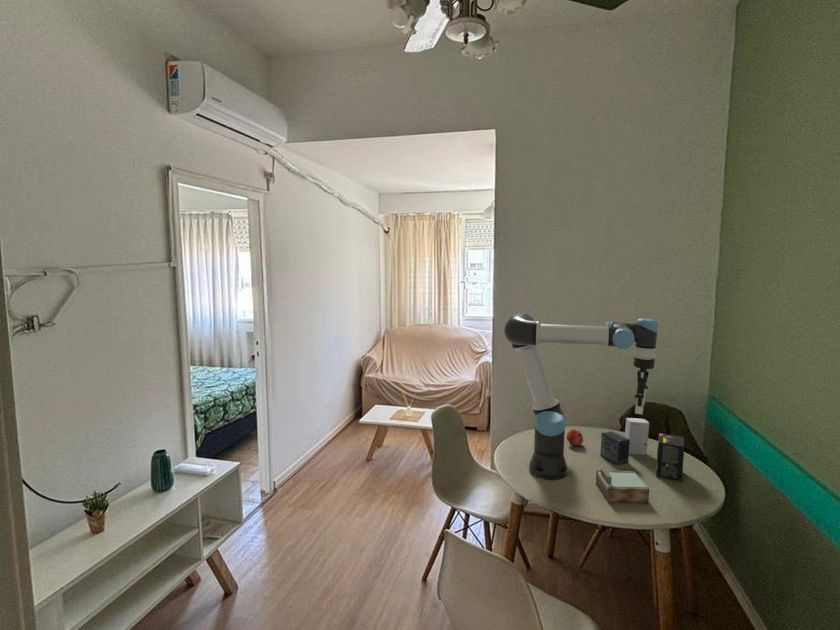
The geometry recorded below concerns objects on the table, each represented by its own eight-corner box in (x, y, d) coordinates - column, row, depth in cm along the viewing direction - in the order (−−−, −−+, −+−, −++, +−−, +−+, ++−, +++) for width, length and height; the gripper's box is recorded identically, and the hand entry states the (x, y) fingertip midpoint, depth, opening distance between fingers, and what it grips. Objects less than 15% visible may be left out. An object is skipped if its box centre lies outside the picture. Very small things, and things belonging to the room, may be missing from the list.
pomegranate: (563, 448, 222) (574, 442, 214) (560, 433, 226) (570, 426, 217) (578, 448, 224) (589, 443, 215) (575, 433, 227) (585, 427, 219)
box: (608, 502, 169) (608, 488, 169) (595, 483, 183) (596, 470, 183) (648, 503, 169) (649, 489, 168) (632, 484, 183) (633, 471, 182)
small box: (629, 463, 202) (631, 439, 200) (617, 465, 199) (618, 441, 198) (611, 453, 211) (612, 430, 210) (599, 455, 209) (600, 432, 208)
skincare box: (628, 454, 210) (629, 422, 208) (623, 448, 216) (625, 417, 214) (647, 455, 209) (649, 422, 207) (642, 449, 215) (644, 417, 213)
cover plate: (607, 490, 170) (607, 479, 170) (597, 475, 181) (597, 465, 181) (647, 491, 170) (648, 480, 169) (634, 476, 181) (635, 466, 180)
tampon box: (656, 466, 199) (658, 432, 197) (681, 470, 194) (684, 436, 192) (655, 477, 189) (657, 441, 187) (682, 482, 185) (684, 446, 183)
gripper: (653, 365, 177) (648, 419, 180) (655, 353, 199) (651, 401, 202) (631, 362, 181) (627, 416, 184) (636, 350, 203) (632, 399, 206)
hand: (639, 408), depth 193 cm, fingers open, 13 cm apart
